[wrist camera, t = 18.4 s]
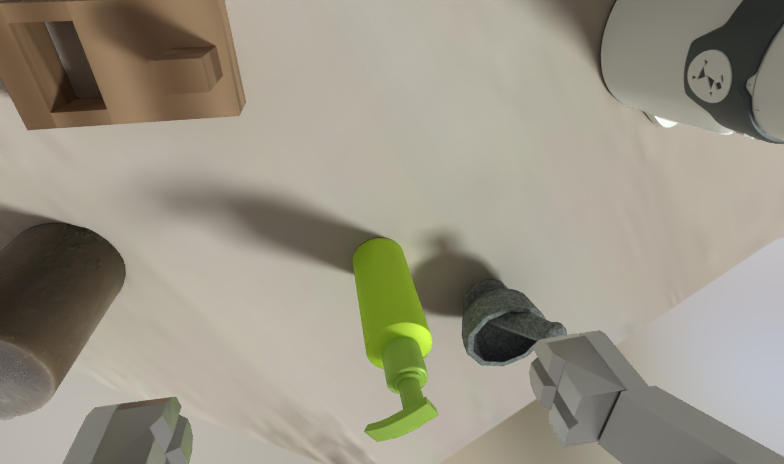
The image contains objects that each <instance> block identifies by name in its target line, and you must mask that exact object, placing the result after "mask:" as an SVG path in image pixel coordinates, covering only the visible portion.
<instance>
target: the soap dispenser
mask: <svg viewBox="0 0 784 464" xmlns="http://www.w3.org/2000/svg"><path fill="white" fill-rule="evenodd" d="M353 268H354V275H355V282H356V288H357V295H358V301H359V308H360V315H361V321H362V328H363V335H364V341H365V348H366V354H367V357H368V359H369V360H370V362H371V363H373V364H374V365H375V366H377V367H379V368H382V369H384V371H385V377H386V382H387V386H388V388H389V389H390V390H391V391H392V392H394V393H397V394H400V397H401V401H402V406H403V410H401V411H400V412H398V413H396V414H394V415H392V416H391V417H389V418H386V419H384V420H382V421H379V422H376V423H372V424H369V425H367V427H366V429H365V431H364V432H365V433H366V434H368V435H369V436H370V437H371V438H373V439H374V440H375V441H377V442H380V441H385V440H390V439H394V438H397V437H400V436H402V435H404V434H407V433H409V432H411V431H413V430H415V429H416V428H418V427H420V426H422V425H423V424H425V423H427V422H428V421H430V420H431V419H433V418H435V417H436V416H438V412H437V409H436V407H435V406H434V405H433V404H432V403H431V402H430V401H429V400H428V399H427V398H426V397H424V398H423V395H422V391H421V388H422V387H423V386H424V385H425V384H426V382H427V380H428V373H427V369H426V366H425V363H424V358H425V357H426V356H427V354H428V353H429V351H430V349H431V347H432V336H431V333H430V330H429V327H428V324H427V321H426V318H425V315H424V312H423V309H422V306H421V303H420V300H419V297H418V294H417V292H416V289H415V286H414V283H413V280H412V277H411V274H410V271H409V268H408V265H407V262H406V259H405V256H404V253H403V250H402V248H401V247H400V246H399V245H398V244H397V243H396V242H394V241H392V240H390V239H386V238H376V239H372V240H369V241H367V242H365V243H363V244H362V245H361V246H360V247H359V248H358V249H357V250H356V252H355V253H354V256H353Z"/></svg>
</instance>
